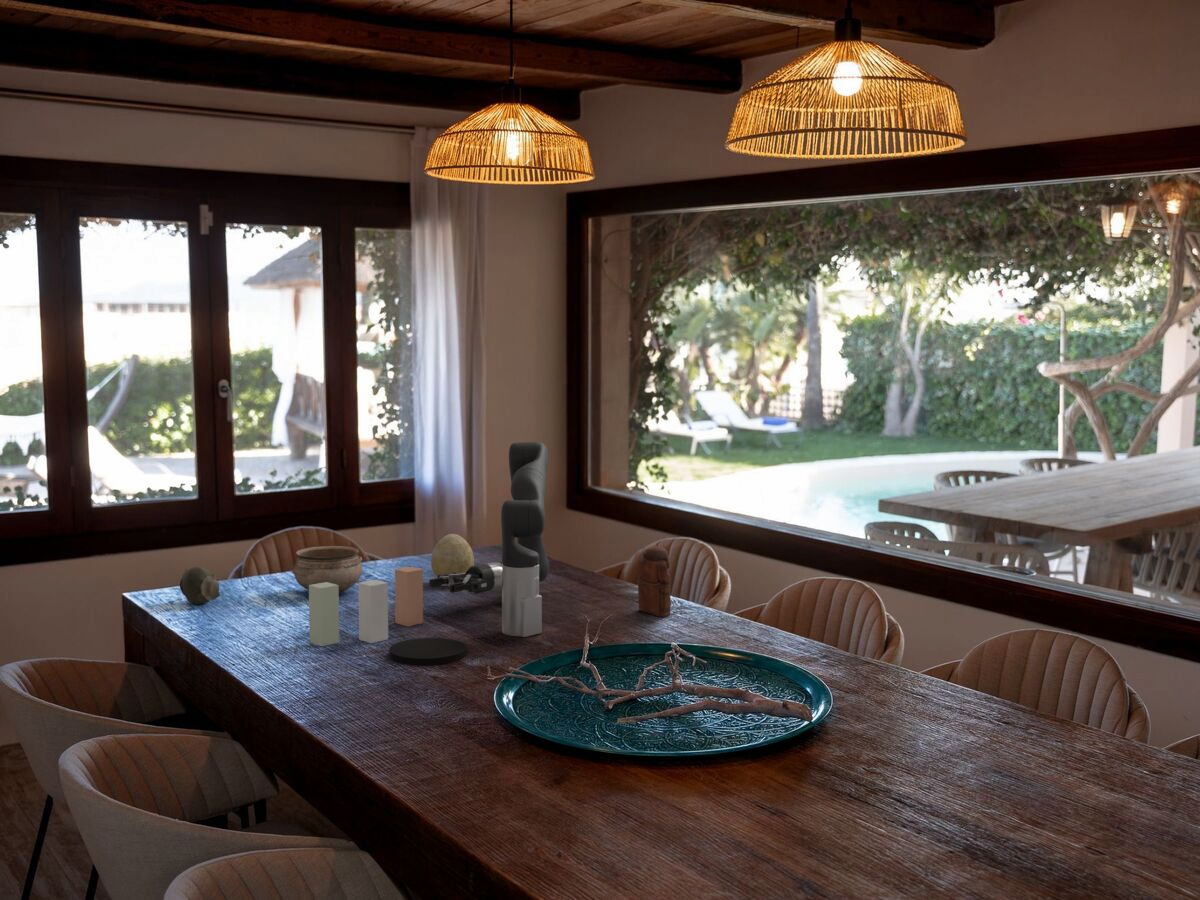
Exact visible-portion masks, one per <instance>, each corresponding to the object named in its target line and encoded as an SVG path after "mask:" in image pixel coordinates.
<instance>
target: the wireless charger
mask: <svg viewBox="0 0 1200 900" xmlns="http://www.w3.org/2000/svg"><path fill="white" fill-rule="evenodd" d="M388 655H389V656H388V657H389V659H390V660H391V661H392V662H395V663H397V664H402V665H407V666H415V667H416V666H418V667H423V666H424V667H428V666H429V667H430V666H431V667H432V666H440V665H441V666H442V665H448V664H453V663H456V662H459V661H462V660H463V659H464V658H466V656H467V655H468V647H467V644H466V643H464V642H463V641H460V640H456V639H451V638H444V637H442V638H441V637H420V638H412V639H407V640H402V641H399V642H396V643H394V644H392V645H390V647H389V650H388Z"/></svg>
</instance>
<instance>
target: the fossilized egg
mask: <svg viewBox="0 0 1200 900" xmlns="http://www.w3.org/2000/svg"><path fill="white" fill-rule="evenodd" d="M430 558H431V559H430V564H431V565H430V566H431V569H432V571H433V575H435V577H436V578H438V575H442V574H448V573H453V572H455V573H456V574H459V573H466V572H467V570H468V569H469V568H470V567H471V566H475V557H474V552H473V550H472V548H471V545H470V544H469V543H468V542H467V540H466V539H464V537H463V536H460V535H459V534H456V533H448V534H447V535H445V536H443V537H442V538H441V539H439V541H438V542H437V543H436V545H435V546H434V548H433V550H432V552H431V557H430ZM452 584H454V583H452Z"/></svg>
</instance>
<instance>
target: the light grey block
mask: <svg viewBox="0 0 1200 900" xmlns="http://www.w3.org/2000/svg"><path fill="white" fill-rule="evenodd" d="M358 640H360V641H363V642H367V643H369V644H374V643H378V642H383V641H387V640H389V582H385V581H382V580H378V579H371V580H366V581H362V582H361V581H360V582H358Z"/></svg>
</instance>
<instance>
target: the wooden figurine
mask: <svg viewBox="0 0 1200 900" xmlns="http://www.w3.org/2000/svg"><path fill="white" fill-rule="evenodd" d="M669 568H670V557H669V553H668V551H667V550H666V549H665V548H664V547H662V546H657V545H655V546H650V547H648V548H647V549H645V550H644V552H643V553H642V556H641V557H640V559H639V563H638V571H637V573H638V574H637V575H638V577H637V578H638V579H637V581H638V584H637V594H638V595H637V596H638V609H639V611H641V612H644V613H646V614H650V615H653V616H656V617H658V618H659V617H661V618H665V617H668V616H670V614H671V610H672V609H671V605H672V604H671V602H672V601H671V580H672V579H671V577H672V576H671V574H670V572H668V569H669Z"/></svg>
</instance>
